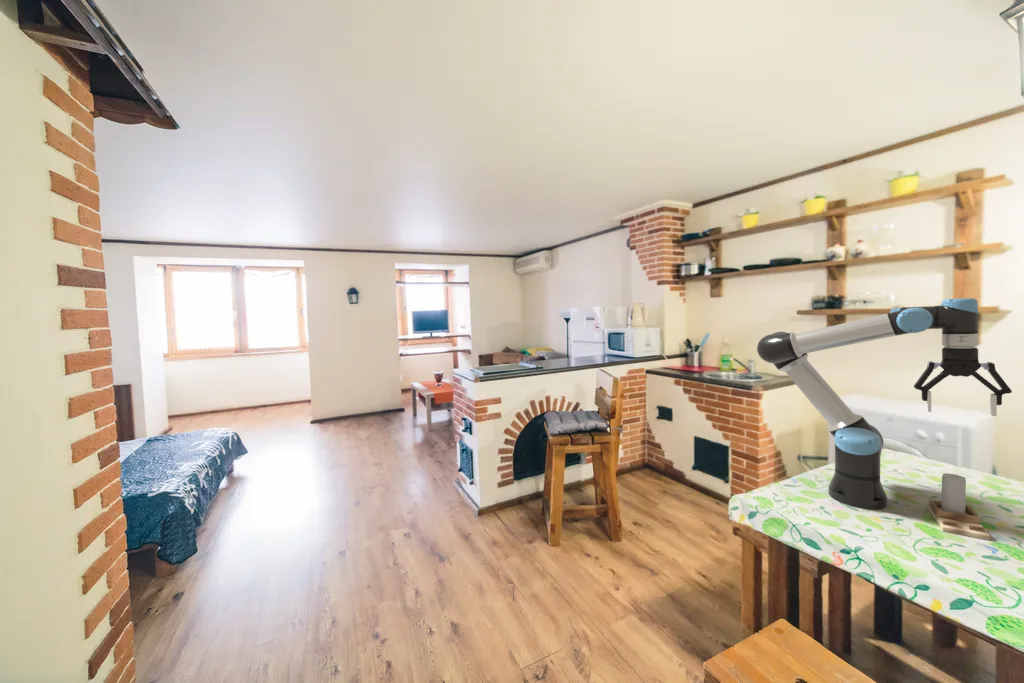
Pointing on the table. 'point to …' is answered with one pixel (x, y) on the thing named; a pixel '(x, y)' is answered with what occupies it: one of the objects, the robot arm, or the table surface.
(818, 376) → the robot arm
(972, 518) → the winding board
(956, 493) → the beverage can
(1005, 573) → the table surface
